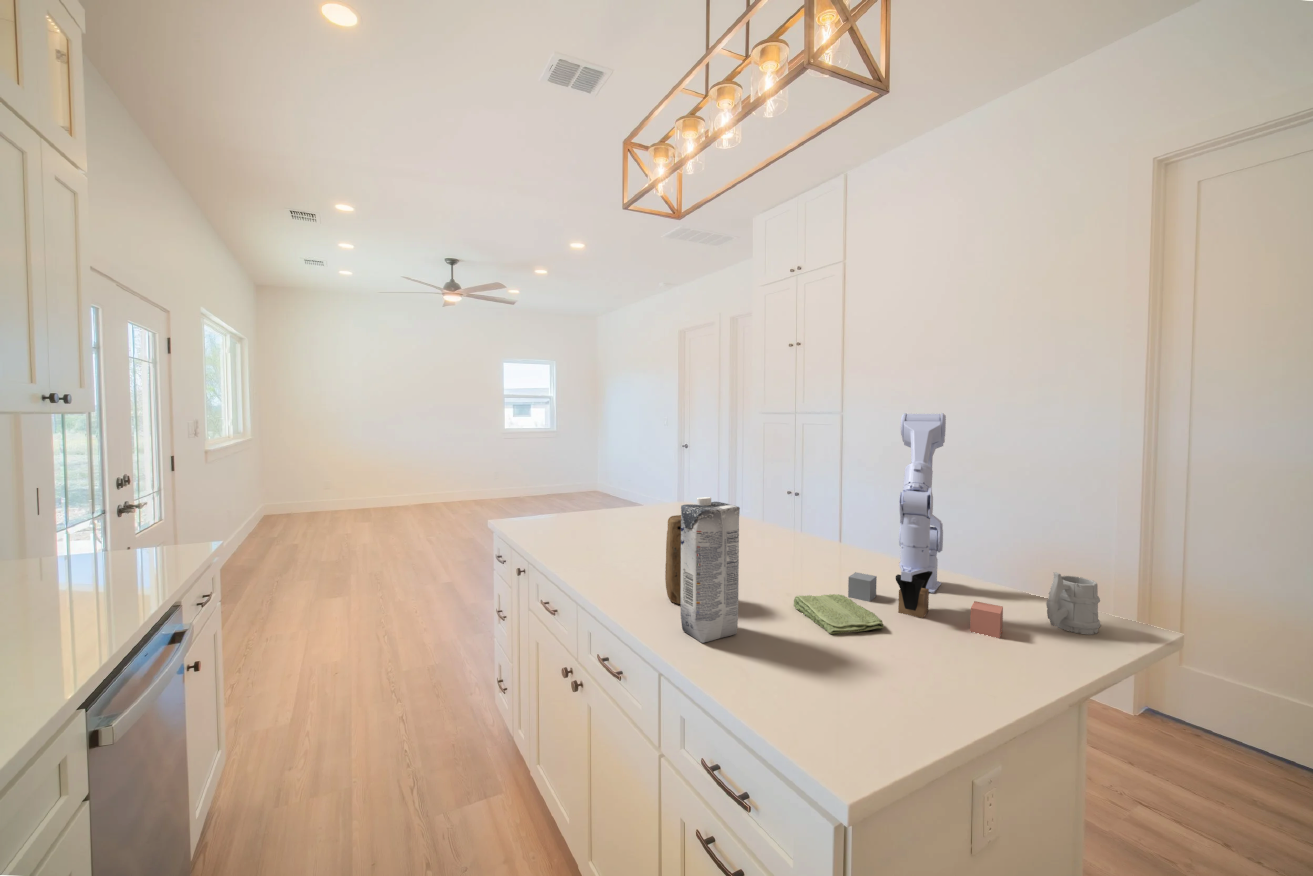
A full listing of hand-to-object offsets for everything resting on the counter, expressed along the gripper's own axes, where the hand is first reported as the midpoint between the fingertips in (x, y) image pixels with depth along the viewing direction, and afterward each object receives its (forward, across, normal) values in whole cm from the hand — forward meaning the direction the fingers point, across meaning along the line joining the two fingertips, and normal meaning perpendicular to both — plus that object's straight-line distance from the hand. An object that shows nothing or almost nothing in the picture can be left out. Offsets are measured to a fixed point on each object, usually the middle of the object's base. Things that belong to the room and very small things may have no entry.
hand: (913, 605), depth 116 cm
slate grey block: (+2, +3, +12) cm, 12 cm away
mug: (+2, +10, -27) cm, 29 cm away
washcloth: (+2, -14, +12) cm, 19 cm away
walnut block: (+1, 0, 0) cm, 1 cm away
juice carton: (+2, -38, +29) cm, 48 cm away
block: (+2, -25, +43) cm, 50 cm away
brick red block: (+2, -2, -14) cm, 14 cm away
